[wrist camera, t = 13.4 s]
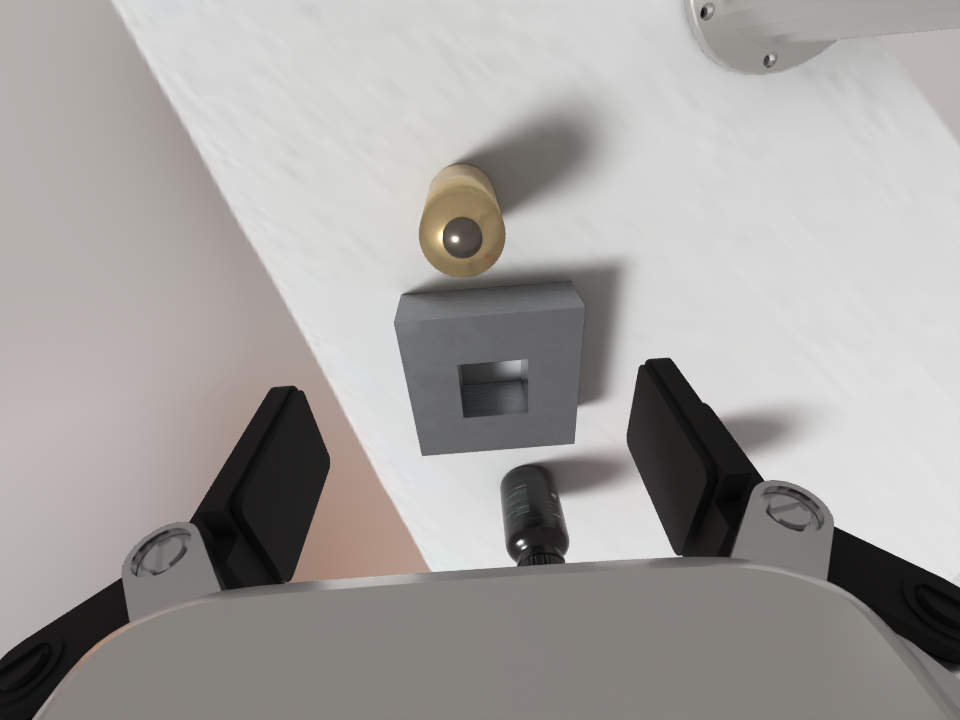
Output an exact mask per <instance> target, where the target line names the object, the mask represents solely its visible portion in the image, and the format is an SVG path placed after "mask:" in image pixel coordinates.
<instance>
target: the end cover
mask: <svg viewBox="0 0 960 720" xmlns="http://www.w3.org/2000/svg"><path fill="white" fill-rule="evenodd" d="M419 241H420V246H421V249H422V251H423V253H424V255H425V257H426V258H427V260H428V261H429V262H430V263H431V265H433V266H434V267H435V268H436V269H437V270H439V271H440V272H442V273H444V274H447V275H450V276H453V277H461V278H462V277H472V276H476V275H478V274H481V273H483V272H485V271H486V270H488V269H489V268H490V267H491V266H492V265H494V264H495V262H496V261H497V260H498V258H499V257H500V255H501V253H502V251H503V248H504V244H505V226H504V222H503V219H502V216H501V212H500V209H499V206H498V202H497V199H496V196H495V193H494V189H493V187H492V184H491V182H490V180H489V179H488V177H487V176H486V175H485V174H484V173H483V172H482V171H481V170H479V169H478V168H476V167H474V166H471V165H467V164H454V165H451V166H448V167H446V168H444V169H443V170H441V171H440V172H439V173H438V174H437V175H436V176H435V178H434V179H433V181H432V183H431V185H430V188H429V191H428V195H427V199H426V203H425V207H424V211H423V215H422V219H421V223H420V228H419Z"/></svg>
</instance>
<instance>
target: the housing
mask: <svg viewBox="0 0 960 720" xmlns="http://www.w3.org/2000/svg"><path fill="white" fill-rule="evenodd" d="M584 317H585V306H584V304H583V302H582V300H581V298H580V296H579V295H578V293H577V291H576V289H575V287H574V285H573V284H572V282H571V281H565V282H552V283H540V284H528V285H516V286H504V287H492V288H479V289H467V290H455V291H443V292H431V293H418V294H406V295H401V297H400V301H399V305H398V309H397V313H396V316H395V320H394V326H395V330H396V335H397V340H398V344H399V349H400V354H401V359H402V363H403V368H404V373H405V378H406V382H407V387H408V392H409V396H410V401H411V406H412V411H413V415H414V420H415V425H416V430H417V434H418V439H419V444H420V448H421V453H422V456H428V455H440V454H453V453H465V452H477V451H490V450H502V449H515V448H527V447H540V446H552V445H564V444H574V441H575V429H576V416H577V404H578V392H579V379H580V367H581V354H582V342H583V329H584ZM512 360H521V371H522V380H519V381H507V382H494V383H482V384H470V385H463V380H462V372H461V365H463V364H475V363H487V362H500V361H512Z"/></svg>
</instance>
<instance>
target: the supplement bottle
mask: <svg viewBox="0 0 960 720" xmlns="http://www.w3.org/2000/svg"><path fill="white" fill-rule="evenodd" d="M500 491H501V503H502V513H503V523H504V532H505V542H506V549H507V552H508V554H509V556H510V557H511V558H512V559H513V560H514V561H515V562H516V563H517V567H519V566H534V565H550V564H565V559H564V555H565V554H566V552H567V550H568V548H569V536H568V531H567V527H566V523H565V519H564V515H563V510H562V506H561V502H560V498H559V494H558V490H557V486H556V482H555V479H554V477H553V475H552V474H551V473H550V472H549V471H547V470H546V469H544V468H541V467H537V466H523V467H519V468H516V469H514V470H512V471H511V472H509V473H508V474H507V475H506V476H505V477H504V478H503V480H502V482H501V486H500Z"/></svg>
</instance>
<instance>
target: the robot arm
mask: <svg viewBox="0 0 960 720" xmlns="http://www.w3.org/2000/svg"><path fill="white" fill-rule="evenodd" d="M684 1H685V7H686V14H687V18H688V21H689V24H690V27H691V30H692V33H693V35H694V37H695V39H696V41H697V42H698V44H699V45H700V47H701V49H702V50H703V52H704V53H705V54H706V55H707V56H708V57H709V58H710V59H712V60H713V61H714V62H715V63H716V64H718V65H720V66H721V67H723V68H725V69H727V70H729V71H732V72H737V73H741V74H745V75H764V74H771V73H778V72H782V71H785V70H788V69H790V68H793V67H796V66H799V65H801V64H803V63H804V62H806V61H808V60H810V59H812V58H813V57H815V56H817V55H819V54H820V53H821V52H823V51H824V50H825V49H827V48H828V47H829V46H831V45H832V44H833V43H835V42H836V41H837V40H838V39H849V38H860V37H870V36H881V35H891V34H901V33H913V32H923V31H934V30H945V29H954V28H960V0H684ZM702 8H703V9H704V15H703V17H702V18H701V16H700V12H701V9H702ZM765 57H766V60H765V62H764V59H765ZM627 444H628V447H629V450H630V452H631V454H632V457H633V459H634V461H635V464H636V466H637V468H638V471H639V473H640V475H641V477H642V480H643V482H644V484H645V487H646V489H647V491H648V493H649V496H650V498H651V500H652V503H653V505H654V507H655V509H656V512H657V514H658V516H659V519H660V521H661V523H662V526H663V528H664V530H665V532H666V535H667V537H668V539H669V542H670V544H671V546H672V548H673V550H674V552H675V554H676V555H678V556H680V555H682V556H683V557H675V558H653V559H631V560H614V561H598V562H582V563H566V564H550V565H534V566H519V567H504V568H489V569H474V570H460V571H445V572H431V573H416V574H402V575H389V576H375V577H362V578H348V579H334V580H321V581H309V582H299V583H298V582H297V583H286V584H285V582H289V581H290V580H291V579H292V577H293V575H294V572H295V569H296V566H297V563H298V560H299V557H300V554H301V551H302V548H303V545H304V542H305V539H306V537H307V534H308V530H309V527H310V525H311V521H312V519H313V516H314V513H315V510H316V507H317V504H318V501H319V498H320V495H321V492H322V489H323V486H324V483H325V480H326V477H327V474H328V471H329V468H330V457H329V454H328V452H327V449H326V447H325V444H324V442H323V439H322V437H321V434H320V431H319V429H318V426H317V424H316V421H315V419H314V417H313V414H312V411H311V409H310V406H309V404H308V401H307V399H306V396H305V394H304V392H303V391H301V390H298V389H297V388H296V387H295V386H283V387H273V388H271V389H270V391H269V392H268V394H267V395H266V397H265V399H264V400H263V402H262V403H261V405H260V407H259V408H258V410H257V412H256V413H255V415H254V417H253V418H252V420H251V421H250V423H249V425H248V426H247V428H246V430H245V432H244V433H243V435H242V436H241V438H240V440H239V441H238V443H237V445H236V446H235V448H234V449H233V451H232V453H231V454H230V456H229V458H228V459H227V461H226V463H225V464H224V466H223V468H222V469H221V471H220V473H219V474H218V476H217V478H216V479H215V481H214V482H213V484H212V486H211V487H210V489H209V491H208V492H207V494H206V495H205V497H204V499H203V501H202V502H201V504H200V505H199V507H198V509H197V511H196V512H195V514H194V516H193V517H192V519H191V520H190V522H176V523H172V524H168V525H165V526H164V527H161V528H159V529H157V530H155V531H153V532H152V533H150V534H149V535H147V536H146V537H144V538H143V539H142V540H141V541H140V542H139V543H138V544H137V545H135V546H134V548H133V549H132V550H131V552H130V553H129V554H128V555H127V557H126V559H125V561H124V564H123V566H122V578H120V579H119V580H117V581H116V582H114V583H113V584H111V585H109V586H108V587H106V588H105V589H103V590H102V591H100V592H98V593H97V594H95V595H94V596H92V597H91V598H89V599H88V600H86V601H84V602H83V603H81V604H80V605H78V606H77V607H75V608H73V609H72V610H70V611H69V612H67V613H66V614H64V615H63V616H61V617H59V618H58V619H56V620H55V621H53V622H52V623H50V624H49V625H47V626H45V627H44V628H42V629H41V630H39V631H38V632H36V633H35V634H33V635H31V636H30V637H28V638H27V639H25V640H24V641H22V642H21V643H20V644H18V645H17V646H15V647H14V648H13V649H11V650H10V651H9V652H8V653H7V654H6V655H5V656H4V657H3V658H2V659H1V660H0V720H960V588H959V587H958V586H956V585H954V584H952V583H951V582H949V581H947V580H945V579H944V578H942V577H939V576H937V575H935V574H933V573H931V572H929V571H927V570H925V569H923V568H920V567H918V566H916V565H914V564H912V563H910V562H908V561H906V560H904V559H902V558H899V557H897V556H895V555H893V554H891V553H889V552H887V551H885V550H883V549H881V548H878V547H876V546H874V545H872V544H870V543H868V542H866V541H864V540H862V539H859V538H857V537H855V536H853V535H851V534H849V533H847V532H845V531H843V530H841V529H838V528H836V527H834V521H833V516H832V514H831V513H830V511H829V509H828V507H827V506H826V505H825V504H824V503H823V502H822V501H821V500H820V499H819V498H818V497H816V496H815V495H814V494H812V493H811V492H810V491H808V490H806V489H804V488H802V487H800V486H798V485H795V484H792V483H789V482H785V481H777V480H770V481H764V479H763V478H762V477H761V475H760V474H759V473H758V471H757V470H756V468H755V467H754V466H753V464H752V463H751V462H750V460H749V459H748V458H747V456H746V455H745V453H744V452H743V451H742V449H741V448H740V447H739V445H738V444H737V443H736V441H735V440H734V438H733V437H732V436H731V434H730V433H729V432H728V430H727V429H726V428H725V426H724V425H723V423H722V422H721V421H720V419H719V418H718V417H717V415H716V414H715V412H714V411H713V410H712V408H711V407H710V406H709V405H708V404H706V403H703V402H702V401H701V400H700V398H699V397H698V396H697V394H696V393H695V391H694V390H693V389H692V387H691V386H690V384H689V383H688V382H687V380H686V379H685V377H684V376H683V375H682V373H681V372H680V370H679V369H678V368H677V366H676V365H675V364H674V362H673V361H672V360H671V359H670V358H658V359H648V360H647V361H646V362H645V365H640V367H639V369H638V375H637V380H636V386H635V391H634V397H633V403H632V408H631V414H630V419H629V425H628V430H627Z"/></svg>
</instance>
